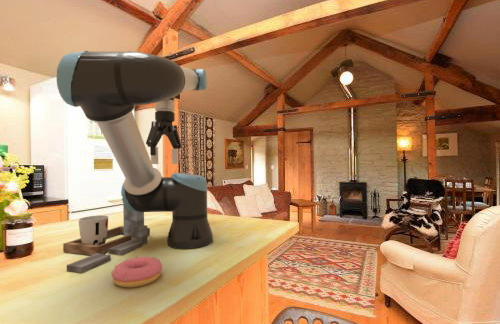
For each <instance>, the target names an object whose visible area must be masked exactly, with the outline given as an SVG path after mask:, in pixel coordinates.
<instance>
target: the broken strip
mask: <svg viewBox="0 0 500 324" xmlns="http://www.w3.org/2000/svg"><path fill="white" fill-rule="evenodd" d="M147 228H148V225H145V224H144V225H136V226H133V227H131V240H130V241H127V242H125V243H122V244H120V245H117V246H114V247H112V248H109V249H108V252H107V254H106V253H103V254H98V253H96V254H94V255H88V256H86V257H84V258H81V259H78V260H75V261H74V262H71V263H69V264H66V272H71V273H78V274H83V273H85V272H87V271H89V270H92V269H94V268H97V267H99V266H101V265H104V264H106V263H108V262H110V261H111V260H112V256H111V255H116V256H124V255H126V254H129V253H131V252H133V251H135V250H137V249H140V248H142V247H143V246H144V245H147V244H148V243H149V242H148V236H147Z"/></svg>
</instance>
